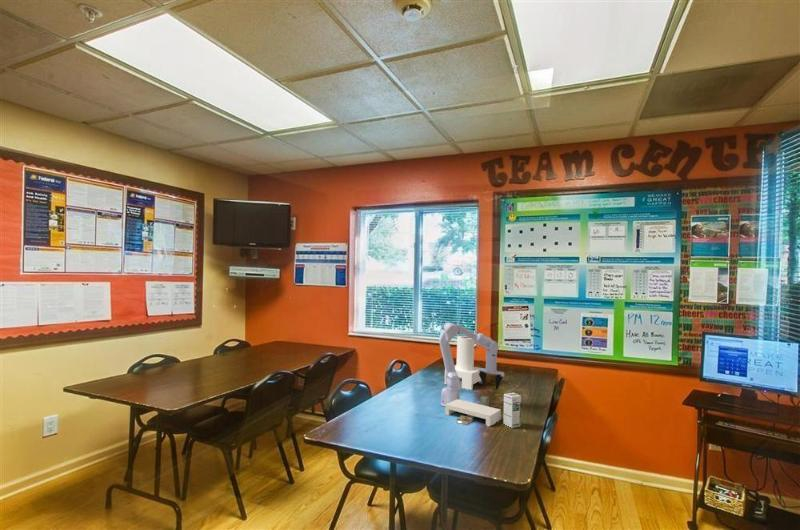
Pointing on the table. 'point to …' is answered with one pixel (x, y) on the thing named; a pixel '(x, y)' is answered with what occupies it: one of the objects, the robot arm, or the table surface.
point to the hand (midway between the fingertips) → (490, 387)
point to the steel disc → (462, 421)
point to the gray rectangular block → (483, 402)
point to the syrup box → (512, 410)
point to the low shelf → (474, 410)
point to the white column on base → (466, 362)
